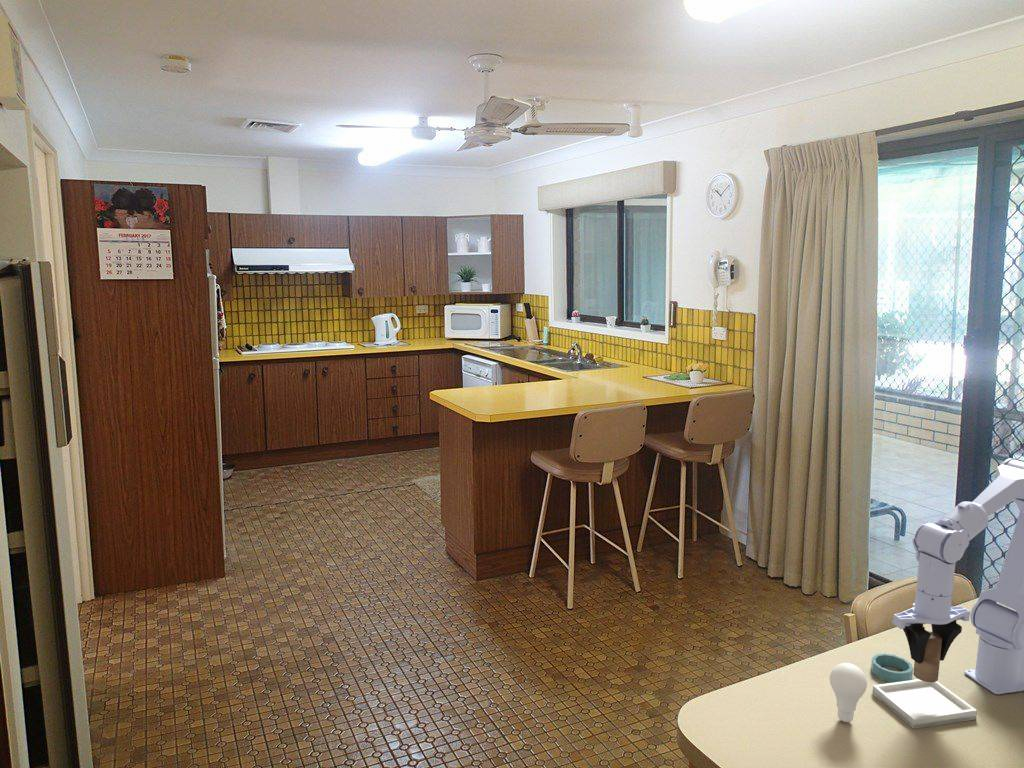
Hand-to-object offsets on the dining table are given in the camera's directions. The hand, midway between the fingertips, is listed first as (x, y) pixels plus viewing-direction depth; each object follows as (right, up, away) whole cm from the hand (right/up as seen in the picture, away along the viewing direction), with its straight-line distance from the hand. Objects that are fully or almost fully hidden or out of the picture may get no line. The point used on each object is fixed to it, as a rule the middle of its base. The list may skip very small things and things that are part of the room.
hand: (927, 659), depth 139 cm
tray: (0, -9, +2) cm, 10 cm away
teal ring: (0, -7, +13) cm, 15 cm away
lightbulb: (-16, -10, -3) cm, 20 cm away
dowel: (0, -3, +1) cm, 3 cm away
